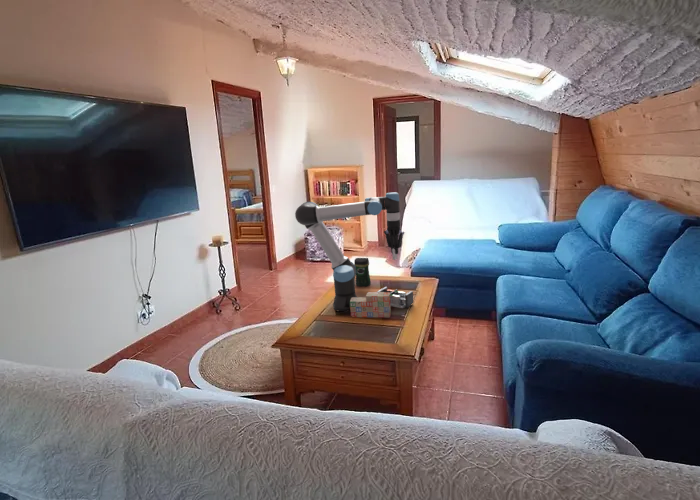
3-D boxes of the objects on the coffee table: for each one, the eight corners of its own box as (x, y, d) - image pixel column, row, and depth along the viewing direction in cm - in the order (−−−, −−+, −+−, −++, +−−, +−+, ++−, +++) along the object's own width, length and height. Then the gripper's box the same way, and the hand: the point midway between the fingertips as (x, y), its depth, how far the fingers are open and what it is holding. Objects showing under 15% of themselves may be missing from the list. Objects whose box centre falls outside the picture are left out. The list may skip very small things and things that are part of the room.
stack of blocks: (350, 317, 221) (348, 296, 218) (352, 312, 227) (351, 292, 224) (390, 317, 217) (388, 296, 214) (391, 312, 223) (389, 291, 220)
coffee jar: (371, 283, 273) (370, 256, 269) (368, 287, 266) (366, 259, 261) (358, 282, 276) (356, 256, 272) (354, 286, 269) (352, 259, 264)
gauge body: (403, 308, 227) (402, 296, 225) (377, 303, 237) (377, 291, 235) (411, 303, 234) (410, 290, 232) (385, 298, 244) (385, 286, 242)
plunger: (406, 308, 226) (406, 295, 224) (383, 304, 235) (382, 291, 233) (414, 303, 233) (414, 290, 231) (391, 298, 242) (390, 286, 240)
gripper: (406, 219, 233) (408, 258, 239) (387, 217, 241) (389, 256, 247) (399, 221, 227) (401, 262, 233) (380, 220, 236) (382, 259, 241)
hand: (395, 259), depth 240 cm, fingers closed
